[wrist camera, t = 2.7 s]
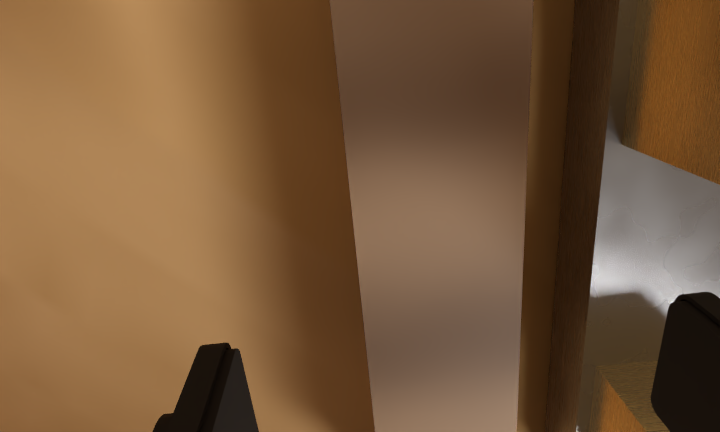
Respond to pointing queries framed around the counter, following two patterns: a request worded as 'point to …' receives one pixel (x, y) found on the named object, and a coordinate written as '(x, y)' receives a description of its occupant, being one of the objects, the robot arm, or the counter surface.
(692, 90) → the brass block
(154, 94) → the counter surface
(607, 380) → the brass block
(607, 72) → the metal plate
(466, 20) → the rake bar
